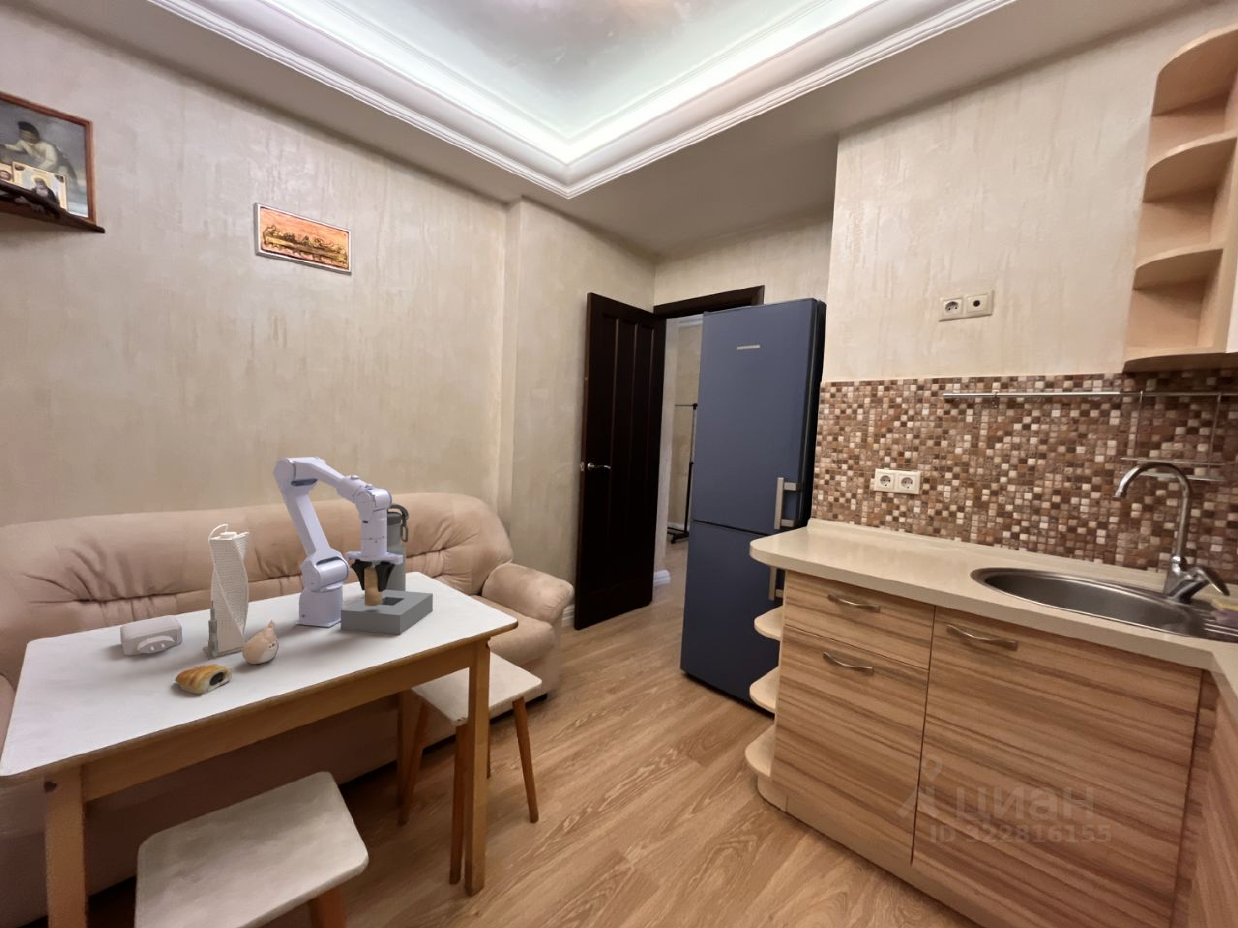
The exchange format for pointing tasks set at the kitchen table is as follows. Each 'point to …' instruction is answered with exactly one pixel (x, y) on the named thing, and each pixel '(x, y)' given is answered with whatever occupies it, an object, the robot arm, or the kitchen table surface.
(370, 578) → the peg
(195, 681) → the pastry
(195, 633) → the kitchen table surface
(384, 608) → the socket block
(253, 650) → the beige rounded figure
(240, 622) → the skyscraper
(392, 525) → the water bottle
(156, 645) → the charger
